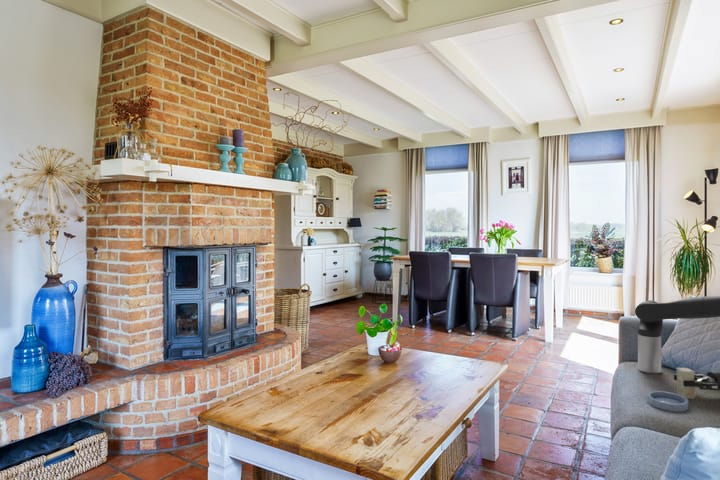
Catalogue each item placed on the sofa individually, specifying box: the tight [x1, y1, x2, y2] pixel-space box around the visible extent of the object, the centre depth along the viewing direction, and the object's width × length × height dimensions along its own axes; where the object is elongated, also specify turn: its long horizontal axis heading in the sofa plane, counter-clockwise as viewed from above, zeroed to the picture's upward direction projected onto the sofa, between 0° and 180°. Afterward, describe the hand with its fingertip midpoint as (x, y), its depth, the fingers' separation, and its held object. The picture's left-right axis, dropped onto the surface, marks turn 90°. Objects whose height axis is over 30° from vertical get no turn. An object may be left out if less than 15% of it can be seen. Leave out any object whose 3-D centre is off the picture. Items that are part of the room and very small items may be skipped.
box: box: [676, 367, 696, 400], centre depth 176 cm, size 5×4×11 cm
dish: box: [646, 390, 689, 412], centre depth 170 cm, size 13×13×2 cm
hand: (679, 380), depth 177 cm, fingers open, 6 cm apart
